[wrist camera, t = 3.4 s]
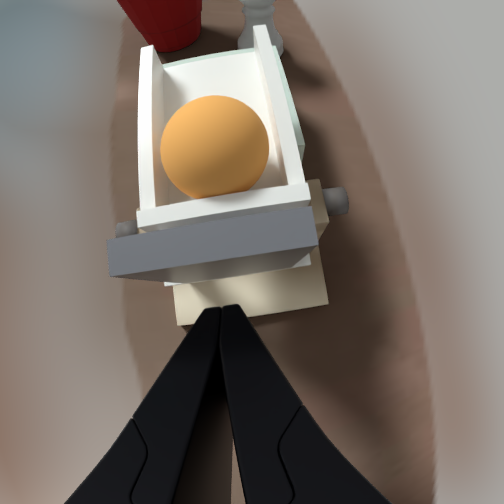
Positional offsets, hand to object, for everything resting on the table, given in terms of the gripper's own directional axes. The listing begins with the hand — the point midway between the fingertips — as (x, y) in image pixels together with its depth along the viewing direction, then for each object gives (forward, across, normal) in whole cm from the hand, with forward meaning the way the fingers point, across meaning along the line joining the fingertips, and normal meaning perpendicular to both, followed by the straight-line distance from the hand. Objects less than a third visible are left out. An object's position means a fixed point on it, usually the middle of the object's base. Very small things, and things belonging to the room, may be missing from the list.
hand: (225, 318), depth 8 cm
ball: (+6, 0, -3) cm, 7 cm away
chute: (+9, 0, -2) cm, 9 cm away
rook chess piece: (+27, -4, -7) cm, 28 cm away
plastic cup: (+31, +4, -11) cm, 33 cm away
